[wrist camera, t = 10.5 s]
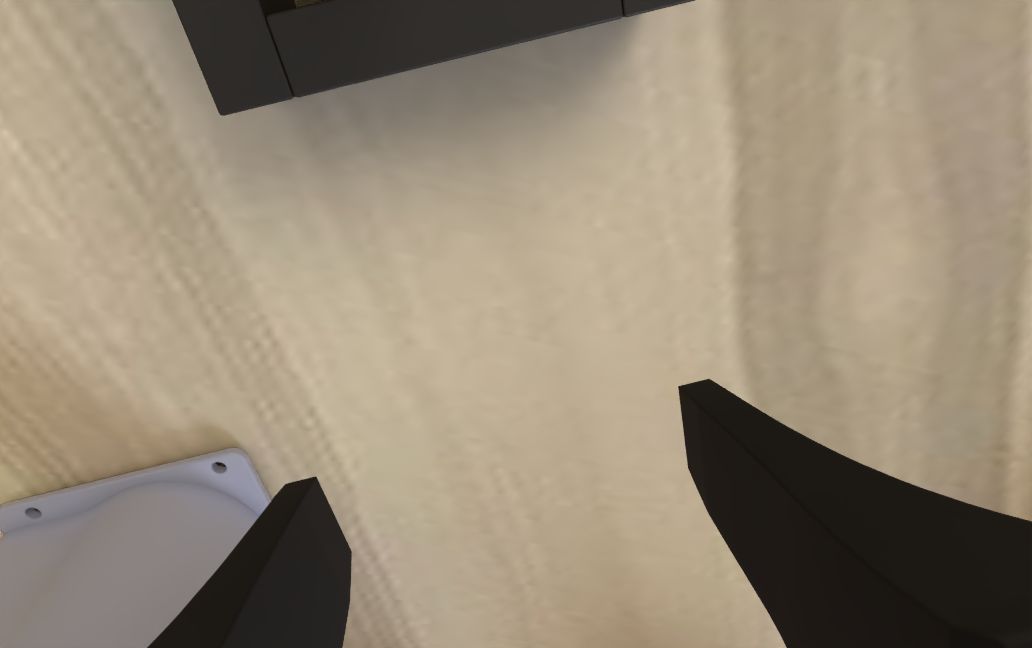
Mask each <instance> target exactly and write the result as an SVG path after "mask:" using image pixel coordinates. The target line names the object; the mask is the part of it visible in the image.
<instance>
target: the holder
mask: <svg viewBox="0 0 1032 648" xmlns="http://www.w3.org/2000/svg"><path fill="white" fill-rule="evenodd" d="M172 1H173V3H174V6H175V8H176V11H177V13H178V15H179V18H180V20H181V23H182V25H183V27H184V30H185V32H186V35H187V37H188V40H189V42H190V44H191V47H192V49H193V52H194V54H195V56H196V59H197V61H198V64H199V66H200V68H201V71H202V73H203V76H204V78H205V80H206V83H207V85H208V88H209V90H210V92H211V95H212V97H213V100H214V102H215V104H216V107H217V109H218V112H219V113H220V115H223V116H224V115H228V114H232V113H237V112H241V111H245V110H249V109H253V108H257V107H261V106H265V105H269V104H273V103H277V102H282V101H286V100H290V99H292V98H294V97H302V96H306V95H310V94H314V93H318V92H322V91H326V90H331V89H335V88H339V87H343V86H347V85H351V84H355V83H359V82H363V81H367V80H371V79H376V78H380V77H384V76H388V75H392V74H396V73H400V72H404V71H408V70H412V69H416V68H421V67H425V66H429V65H433V64H437V63H441V62H445V61H449V60H453V59H457V58H461V57H466V56H470V55H474V54H478V53H482V52H486V51H490V50H494V49H498V48H502V47H506V46H511V45H515V44H519V43H523V42H527V41H531V40H535V39H539V38H543V37H547V36H551V35H555V34H560V33H564V32H568V31H572V30H576V29H580V28H584V27H588V26H592V25H596V24H600V23H605V22H609V21H613V20H617V19H620V18H622V17H629V16H633V15H637V14H641V13H646V12H650V11H654V10H658V9H662V8H666V7H670V6H674V5H678V4H682V3H686V2H691V1H695V0H326V1H322V2H318V3H314V4H310V5H305V6H301V7H297V8H296V5H295V2H294V0H172Z"/></svg>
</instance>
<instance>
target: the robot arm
mask: <svg viewBox="0 0 1032 648" xmlns="http://www.w3.org/2000/svg"><path fill="white" fill-rule="evenodd" d="M678 388H679V396H680V404H681V412H682V421H683V429H684V437H685V446H686V454H687V462H688V469H689V471H690V473H691V476H692V478H693V480H694V482H695V485H696V487H697V489H698V492H699V494H700V496H701V498H702V500H703V503H704V505H705V507H706V509H707V511H708V513H709V515H710V517H711V518H712V520H713V522H714V524H715V525H716V527H717V529H718V530H719V532H720V534H721V535H722V537H723V539H724V540H725V542H726V544H727V545H728V547H729V549H730V550H731V552H732V554H733V555H734V557H735V558H736V560H737V562H738V563H739V565H740V567H741V568H742V570H743V572H744V573H745V575H746V577H747V578H748V580H749V582H750V583H751V585H752V586H753V588H754V590H755V591H756V593H757V595H758V596H759V598H760V600H761V601H762V603H763V605H764V606H765V608H766V610H767V611H768V613H769V615H770V617H771V618H772V620H773V622H774V624H775V626H776V627H777V629H778V631H779V633H780V635H781V637H782V639H783V641H784V643H785V645H786V647H787V648H1032V521H1028V520H1024V519H1020V518H1017V517H1013V516H1009V515H1005V514H1001V513H998V512H995V511H991V510H988V509H984V508H981V507H978V506H974V505H971V504H968V503H965V502H962V501H959V500H956V499H953V498H950V497H947V496H944V495H941V494H938V493H935V492H932V491H929V490H926V489H923V488H920V487H918V486H915V485H912V484H910V483H907V482H904V481H902V480H899V479H897V478H894V477H892V476H889V475H887V474H884V473H882V472H880V471H877V470H875V469H872V468H870V467H868V466H865V465H863V464H861V463H858V462H856V461H854V460H852V459H850V458H847V457H845V456H843V455H841V454H839V453H837V452H835V451H833V450H831V449H829V448H827V447H825V446H823V445H821V444H819V443H817V442H815V441H813V440H811V439H809V438H807V437H806V436H804V435H802V434H800V433H798V432H796V431H794V430H793V429H791V428H789V427H787V426H786V425H784V424H782V423H780V422H779V421H777V420H775V419H773V418H772V417H770V416H768V415H767V414H765V413H763V412H762V411H760V410H758V409H757V408H755V407H754V406H752V405H750V404H749V403H747V402H745V401H744V400H742V399H741V398H739V397H737V396H736V395H734V394H733V393H731V392H730V391H728V390H726V389H725V388H723V387H722V386H720V385H718V384H717V383H715V382H714V381H712V380H710V379H706V380H702V381H698V382H694V383H690V384H686V385H682V386H678ZM215 462H221V463H224V464H225V465H226V466H225V467H221V466H218V465H217V464H216V463H215ZM33 508H35V509H38V510H39V511H37V510H35V509H33ZM0 530H1V531H2V533H3V534H4V535H3V536H2V537H1V538H0V648H342V647H343V641H344V635H345V629H346V623H347V617H348V610H349V604H350V587H351V553H352V552H351V549H350V547H349V545H348V543H347V541H346V539H345V537H344V535H343V532H342V530H341V528H340V526H339V524H338V522H337V520H336V518H335V515H334V513H333V511H332V509H331V507H330V505H329V503H328V501H327V498H326V496H325V494H324V492H323V490H322V488H321V486H320V484H319V482H318V479H317V477H312V478H308V479H304V480H300V481H296V482H292V483H288V484H285V485H284V486H283V488H282V489H281V490H280V491H279V492H278V493H277V495H276V496H275V497H274V498H273V500H271V498H270V496H269V495H268V493H267V491H266V489H265V487H264V485H263V483H262V481H261V479H260V477H259V475H258V473H257V471H256V470H255V468H254V466H253V464H252V462H251V460H250V458H249V456H248V455H247V453H246V452H245V451H243V450H241V449H239V448H228V449H224V450H220V451H216V452H212V453H207V454H203V455H199V456H195V457H191V458H187V459H183V460H179V461H175V462H171V463H167V464H163V465H158V466H154V467H150V468H146V469H142V470H138V471H134V472H130V473H126V474H122V475H118V476H114V477H110V478H105V479H101V480H97V481H93V482H89V483H85V484H81V485H77V486H73V487H69V488H65V489H61V490H56V491H52V492H48V493H44V494H40V495H36V496H32V497H28V498H24V499H20V500H16V501H12V502H8V503H4V504H2V505H0Z"/></svg>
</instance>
